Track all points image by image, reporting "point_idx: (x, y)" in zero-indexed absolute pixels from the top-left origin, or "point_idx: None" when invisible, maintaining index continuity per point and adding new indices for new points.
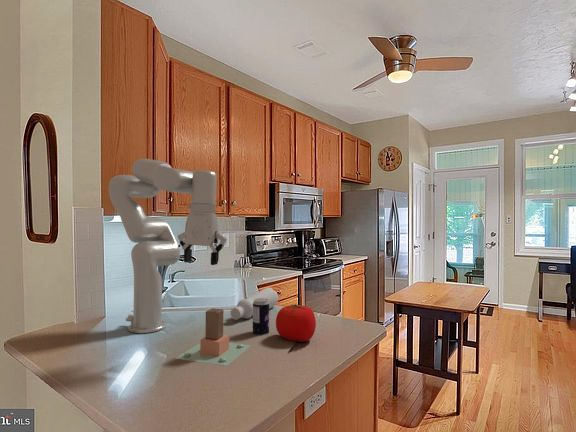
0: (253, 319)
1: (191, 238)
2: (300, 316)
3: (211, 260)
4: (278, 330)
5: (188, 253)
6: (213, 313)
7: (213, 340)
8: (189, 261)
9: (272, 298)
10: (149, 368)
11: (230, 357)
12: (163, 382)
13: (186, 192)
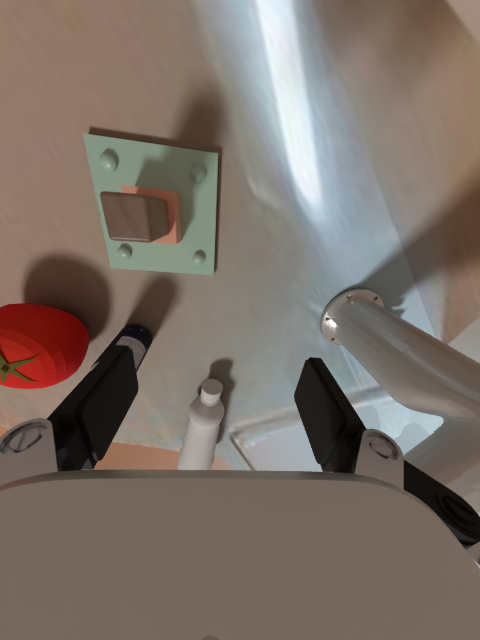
0: (136, 342)
1: (351, 621)
2: None
3: (109, 361)
4: (67, 316)
5: (320, 415)
6: (115, 192)
7: (141, 193)
8: (298, 383)
9: (180, 456)
10: (251, 102)
11: (107, 187)
12: (176, 13)
13: None
